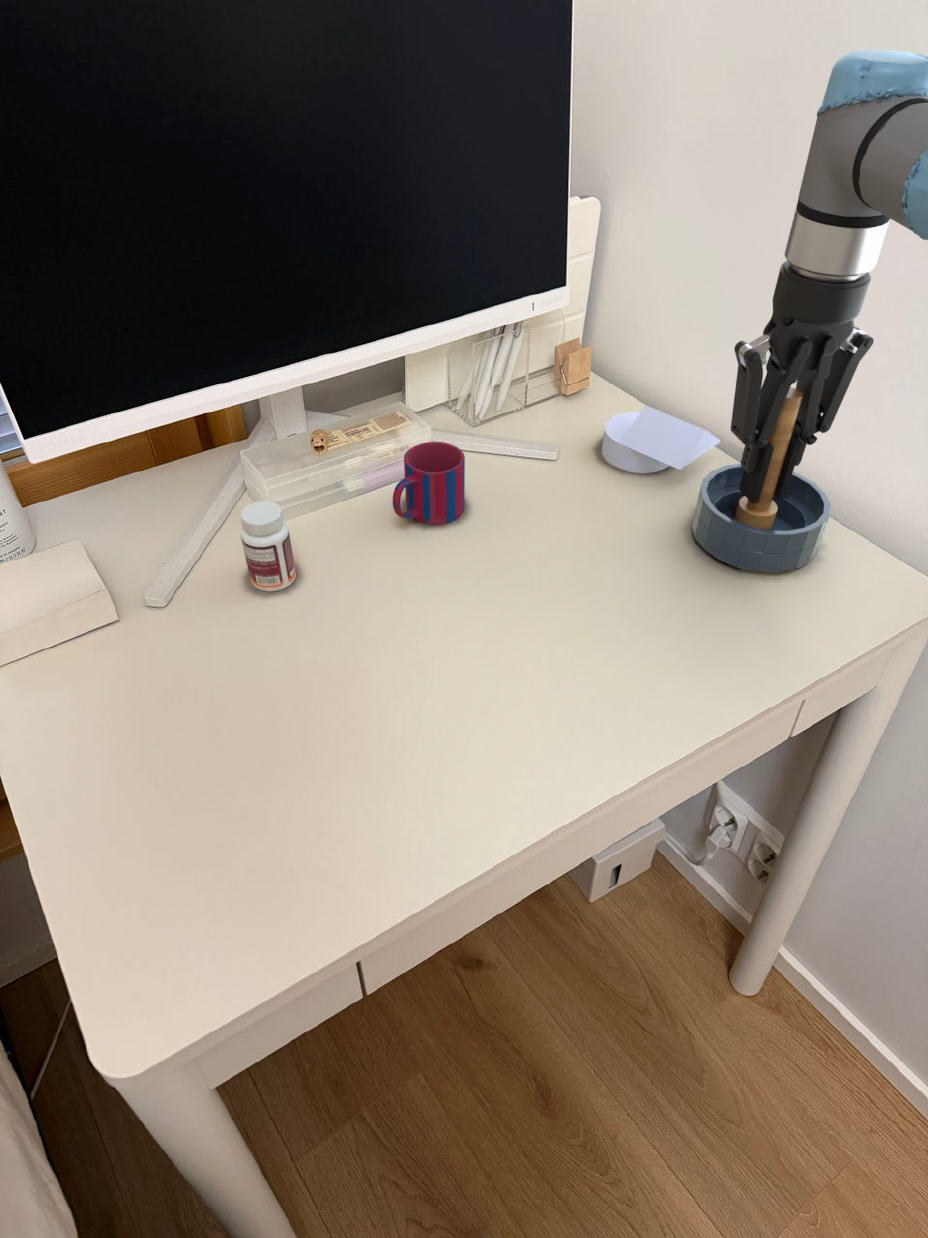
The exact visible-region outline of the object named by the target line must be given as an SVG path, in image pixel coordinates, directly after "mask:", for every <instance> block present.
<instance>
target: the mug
mask: <svg viewBox="0 0 928 1238" xmlns="http://www.w3.org/2000/svg"><path fill="white" fill-rule="evenodd" d="M465 463H466V456H465V453H464V452H463V451H462V450H461V449H460V448H459V447H458V446H456V445H454V444H451V443H449V442H443V441H442V442H441V441H426V442H421V443H418V444H416V445H414V446H411V447H410V448H409V449H407V450H406V452H405V453H404V455H403V469H404V478H402V479H401V480H400V481H398V483H397V484H396V485H395V487H394V490H393V493H392V508H393V511H394V513H395V514H396V515H397V516H398V517H400V518H402V519H406V520H411V519H412V520H414V521H416V522H418V523H421V524H423V525H424V524H425V525H429V526H430V525H431V526H433V525H434V526H439V525H440V526H441V525H445V524H449V523H452V522H454V521H456V520H458V519H459V518H460V517H461V516H462V515H463V514H464V511H465V486H466V485H465V484H466V483H465V481H466V480H465V475H466V474H465V472H466V471H465V470H466V467H465V466H466V464H465ZM404 490H405V508H406V509H405V510H406V512H403V510H402V506H401V505H402V504H401V499H402V495H403V492H404Z"/></svg>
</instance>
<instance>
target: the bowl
mask: <svg viewBox="0 0 928 1238" xmlns="http://www.w3.org/2000/svg"><path fill="white" fill-rule="evenodd" d="M743 472H744V469H743V468H742V467H741V462H740V463H735V464H734V463H733V464H728V465H724V466H722V467H719V468H717V469H714V470H712V471H711V472H709V473H708V474H707V475H706V476H705V477H704V478H703V479H702V481H701V485H700V488H699V491H698V496H697V501H696V506H695V510H694V514H693V518H692V523H691V529H692V533H693V536H694V539H695V540H696V542H697V543H698V544H699V545H700V546H701V548H702V549H703V550H704V551H705V552H707V553H708V554H709V555H711V556H713V557H714V558H716V559H717V560H719V561H721V562H724V563H726V564H728V565H731V566H733V567H735V568H739V569H743V570H748V571H752V572H758V573H759V572H761V573H781V572H787V571H792V570H796V569H798V568H800V567H802V566H804V565H806V564H808V563H809V562H810V561H812V559H813V558H814V557H815V556H816V554H817V552H818V550H819V547H820V544H821V541H822V540H823V536H824V533H825V530H826V528H827V524H828V521H829V519H830V516H831V508H832V507H831V506H832V505H831V502H830V500H829V498H828V495H827V493H826V491H824V490H822V489H821V487H819V485H817V484H816V482H814V481H812V480H811V479H809V478H807V477H805V476H804V475H802V474H800V473H799V472H794V471H793V473H792V477H791V480H790V483H789V486H788V490H787V493H786V496H785V498H782V499H778V498H777V497H776V496H775V495H774V496H773V499H772V500H773V501H774V502H775V503H776V504H777V507H778V510H777V513H776V517H775V520H774V523H773V527H772V530H764V529H759V528H754V527H749V526H747V525H744V524H742V523H739V522H737V521H734V518H733V516H732V514H731V506H732V504H733V502H734V501H735V500H736V499H737V498H739V497H741V496H745V495H744V494H743V493H742V492H741V491H740V490H739V488H740V484H741V480H742V476H743Z"/></svg>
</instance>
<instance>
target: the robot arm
mask: <svg viewBox="0 0 928 1238" xmlns="http://www.w3.org/2000/svg"><path fill="white" fill-rule="evenodd" d="M828 78H829V79H828V81H827V85H826V89H825V92H824V95H823V99H822V102H821V105H820V107H818V110H817V111H816V121H815V125H814V130H813V134H812V137H811V141H810V145H809V146H810V147H809V150H808V154H807V158H806V163H805V167H804V170H803V171H804V172H803V175H802V181H801V184H800V189H799V193H798V196H797V202H796V206H795V209H794V212H793V218H792V220H791V226H790V229H789V233H788V237H787V241H786V245H785V250H784V257H785V259H786V260H785V261H783V262H782V264H781V265H780V267H779V271H778V276H777V280H776V284H775V288H774V292H773V296H772V313H771V317H770V319H769V321H768V322H767V324H766V325H765V327H764V328H763V331H762V335H760V336H759V337H757V338H756V339H754V340H752V341H751V342H750V341H749V342H746V340H740V341H738V342H737V343H736V344H735V345H734V349H733V350H734V354H735V358H736V361H737V370H736V372H737V373H736V380H735V388H734V397H733V405H732V411H731V412H732V414H731V421H730V432H731V433H732V434H733V435H734V436H735V437H736V438H737V439H738V440H739V441H740V442H741V443H742V444H743V445H744V448H743V452H742V454H741V459H740V463H741V467H742V468H743V469H744V472H743V476H742V480H741V484H740V488H739V490H740V491H741V492H742V493H743V494H744V495H745V496H746V498H747V499H748V500H749V501H750V502H751V503H758V502H759V499H760V495H761V492H762V488H763V485H764V481H765V478H766V474H767V471H768V467H769V464H770V460H771V457H772V453H773V450H774V447H773V446H772V445H771V444H770V443H769V440H770V437H771V435H772V432H773V430H774V427H775V425H776V422H777V420H778V417H779V415H780V412H781V409H782V407H783V404H784V402H785V399H786V397H787V394H788V392H789V389H790V387H792V385H794V384H796V385H795V388H796V389H798V390H800V391H801V392H802V393H803V398H802V402H801V405H800V408H799V412H798V415H797V418H796V422H795V425H794V429H793V432H792V435H791V439H790V442H789V445H788V449H787V452H786V455H785V459H784V462H783V466H782V469H781V472H780V476H779V479H778V482H777V486H776V489H775V492H774V495H775V496H776V497H777V498H778V499H782V498H785V496H786V493H787V490H788V486H789V483H790V480H791V477H792V473H793V472H794V470H795V467H798V466H799V465H800V464H801V462H802V460H803V456H804V453H805V450H806V447H807V446H811V445H814V444H815V443H816V442H817V441H818V437H817V436H816V435H815V434H818V433H822V434H825V433H827V432H829V431H830V430H831V427H832V425H833V423H834V421H835V418H836V416H837V414H838V412H839V409H840V407H841V406H842V402H843V401H844V399H845V396H846V394H847V392H848V389H849V387H850V385H851V383H852V381H853V380H852V379H853V378H854V375H855V374H856V371H857V370H858V366H859V364H860V363H861V361H862V359H863V358H864V357H865V355H866V354H867V353H868V352H869V351H870V349H871V347H872V346H873V345H874V342H875V340H874V338H873V337H872V336H871V335H869V334H868V333H866V332H865V331H863V330H862V329H860V328H859V327H857V326H855V321H854V320H855V319H856V318H857V317H858V316H859V315H860V313H861V310H862V307H863V305H864V301H865V298H866V295H867V292H868V289H869V286H870V283H871V280H872V276H871V274H870V272H871V271H872V270H875V267H876V265H877V262H878V260H879V257H880V253H881V249H882V246H883V243H884V240H885V238H886V233H887V230H888V227H889V224H890V221H891V220H892V221H894V222H896V223H897V224H899V225H900V226H903V227H904V228H906V229H908V230H910V231H911V232H912V233H913V234H915V235H917V236H918V237H919V238H920V239H921V240H924V241H928V56H926V55H923V54H919V53H914V52H908V51H900V50H889V49H861V50H856V51H851V52H848V53H846V54H844V55H842V56H841V57H840V58H838V59H837V61H835V63H834V64H833V66H832V69H831V71H830V75H829V77H828ZM768 351H769V356H768V359H766V357H767V352H768ZM765 365H766V366H765ZM763 366H765V370H766V375H765V378H764V367H763ZM763 378H764V379H763Z"/></svg>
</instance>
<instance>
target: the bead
mask: <svg viewBox="0 0 928 1238" xmlns="http://www.w3.org/2000/svg"><path fill="white" fill-rule="evenodd" d="M742 497H744V496H741V497H739V498H737V499H736V500H735V501H734V502H733V504H732V506H731V514H732V516H733V518H734V519H735V515H736V511H737V508H738V504H739V501H740V499H741V498H742Z"/></svg>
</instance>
